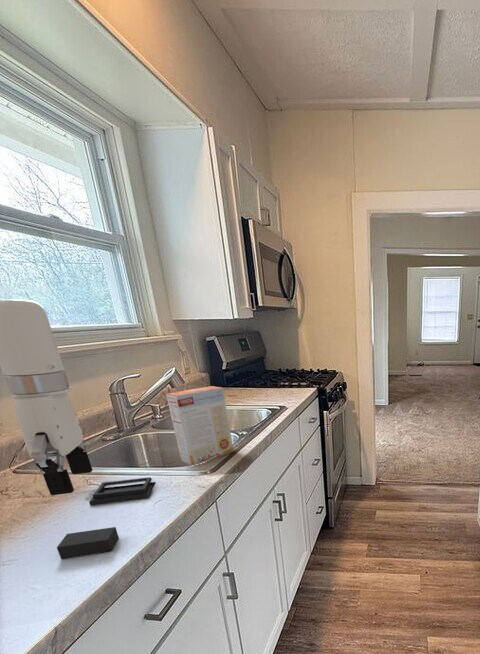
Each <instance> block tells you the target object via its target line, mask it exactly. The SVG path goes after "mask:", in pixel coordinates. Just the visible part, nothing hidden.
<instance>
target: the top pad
mask: <svg viewBox="0 0 480 654" xmlns="http://www.w3.org/2000/svg"><path fill="white" fill-rule="evenodd" d="M119 538H120V537H119V533H118V531H117V527H116V526H113V527H105V528H99V529H91V530H83V531H79V532H70V533H69V532H68V533H66V535H65V536H64V537H63V538H62V540H61V541H60V542H59V544H58V545H57V546H56V550H57V552H58V555H59V557H60V559H61V560H64V559H65V560H66V559H72V558H77V557H84V556H91V555H95V554H103V553H108V552H109V553H110V552H112V551H113V550H114V548H115V546H116V544H117V543H118V540H119Z"/></svg>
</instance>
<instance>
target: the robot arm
mask: <svg viewBox="0 0 480 654" xmlns="http://www.w3.org/2000/svg"><path fill="white" fill-rule="evenodd" d="M0 369H1V372H2V375H3V377H4V380H5V382H6V385H7V387H8V390H9V393H10V396H11V397H12V398H14V399H13V400H14V408H15V413H16V418H17V421H18V424H19V428H20V431H21V435H22V438H23V441H24V444H25V448H26V450H27V452H28V455H29V457H30V458H31V459H33V460H34V462H35V466H36V467H37V468H38V469H39V472H40V474H42V476H43V479H44V481H45V484H46V487H47V490H48V493H49V494H50V495H51V496H58V495H66V494H67V495H68V494H72V493H74V491H75V488H74V485H73V482H72V480H71V476H70V473H69V471H68V469H65V466H64V465H65V463H64V462H65V460H64V457H65V458H66V461H67V464H68V467H69V470H70V472H71V474H72V475H83V474H89V473H92V472H93V467H92V464H91V460H90V457H89V454H88V451H87V447H86V445H85V444H84V436H83V431H82V428H81V424H80V421H79V419H78V416H77V413H76V410H75V408H74V405H73V403H72V400H71V398H70V396H69V394H68V393H70V392H71V391H72V390H71V389H72V388H71V386H70V383H69V380H68V377H67V375H66V371H65V367H64V364H63V361H62V359H61V355H60V352H59V349H58V345H57V343H56V339H55V336H54V333H53V330H52V327H51V324H50V320H49V318H48V315H47V312H46V309H45V308H44V307H43V306H42V305H41V304H40V303H39V302H37V301H35V300H28V299H0ZM54 459H55V461H54Z"/></svg>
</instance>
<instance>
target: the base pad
mask: <svg viewBox="0 0 480 654" xmlns="http://www.w3.org/2000/svg"><path fill="white" fill-rule="evenodd" d="M151 480H152V477H151V476H150V477H149V476H148V477H140V478H131V479H123V480H122V479H121V480H114V481H105V482H101V484H100V485H99V486H98V488H97V489H96V490H95V491H94V493H92V497H91V498H90V499H89V501H88V503H89V505H90V506H96V505H102V504H103V505H104V504H113V503H120V502H127V501H137V500H142V499H149V498H150V496H151V493H152V492H153V490H154V488H155V486H156V483H157V482H156V481H153V482H152V481H151ZM137 482H139V483H137ZM140 482H143V483H140ZM127 483H129V484H127ZM130 483H135V484H130ZM120 484H121V485H120ZM122 484H126V485H122ZM111 485H118V486H111ZM106 486H109V487H106Z"/></svg>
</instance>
